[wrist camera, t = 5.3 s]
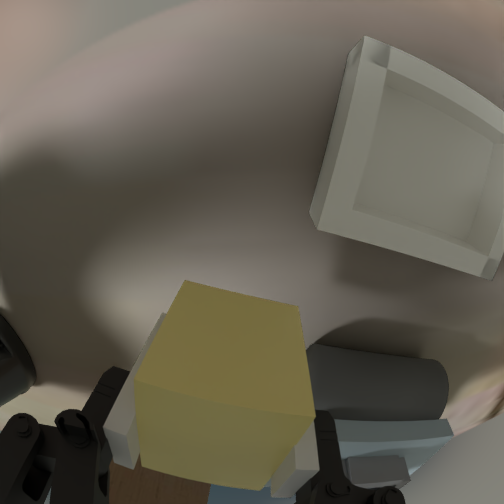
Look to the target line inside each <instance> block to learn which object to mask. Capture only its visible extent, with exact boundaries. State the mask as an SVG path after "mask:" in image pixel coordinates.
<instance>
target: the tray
mask: <svg viewBox="0 0 504 504" xmlns="http://www.w3.org/2000/svg"><path fill="white" fill-rule="evenodd" d="M309 214H310V216H311V218H312V220H313V222H314V225H315V227H316V229H317V230H320V231H324V232H328V233H332V234H336V235H339V236H343V237H347V238H350V239H354V240H358V241H361V242H365V243H369V244H372V245H376V246H379V247H383V248H386V249H390V250H393V251H397V252H400V253H404V254H407V255H410V256H414V257H417V258H420V259H424V260H427V261H430V262H434V263H437V264H440V265H443V266H447V267H450V268H453V269H456V270H459V271H462V272H466V273H469V274H472V275H475V276H478V277H481V278H484V279H487V280H490V281H492V280H493V277H494V275H495V273H496V270H497V268H498V266H499V263H500V261H501V258H502V256H503V253H504V111H502V110H501V109H500V108H498V107H497V106H496V105H494V104H493V103H492V102H490V101H489V100H487V99H486V98H485V97H483V96H482V95H480V94H479V93H477V92H476V91H474V90H473V89H471V88H470V87H468V86H467V85H465V84H463V83H462V82H460V81H459V80H457V79H455V78H454V77H452V76H450V75H449V74H447V73H445V72H443V71H442V70H440V69H438V68H436V67H434V66H432V65H430V64H429V63H427V62H425V61H423V60H421V59H419V58H417V57H415V56H413V55H410V54H408V53H406V52H404V51H402V50H400V49H397V48H395V47H393V46H390V45H388V44H386V43H383V42H381V41H378V40H376V39H373V38H371V37H368V36H364V37H363V38H362V39H361V40H360V41H359V42H358V43H357V45H356V46H355V47H354V48H353V49H352V50H351V51H350V52H349V54H348V58H347V62H346V67H345V72H344V76H343V81H342V85H341V89H340V94H339V98H338V102H337V107H336V111H335V115H334V119H333V123H332V127H331V131H330V135H329V139H328V143H327V147H326V151H325V155H324V159H323V163H322V166H321V170H320V174H319V178H318V181H317V185H316V189H315V192H314V196H313V200H312V203H311V207H310V210H309Z"/></svg>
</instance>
